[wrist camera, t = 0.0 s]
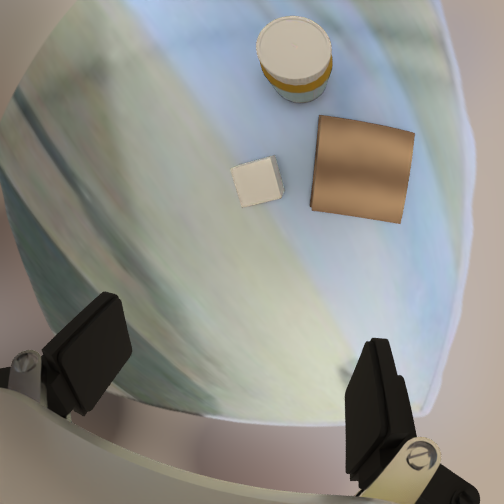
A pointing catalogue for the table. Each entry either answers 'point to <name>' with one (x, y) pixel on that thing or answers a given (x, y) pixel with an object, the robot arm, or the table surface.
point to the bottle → (295, 57)
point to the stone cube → (258, 181)
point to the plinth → (361, 169)
